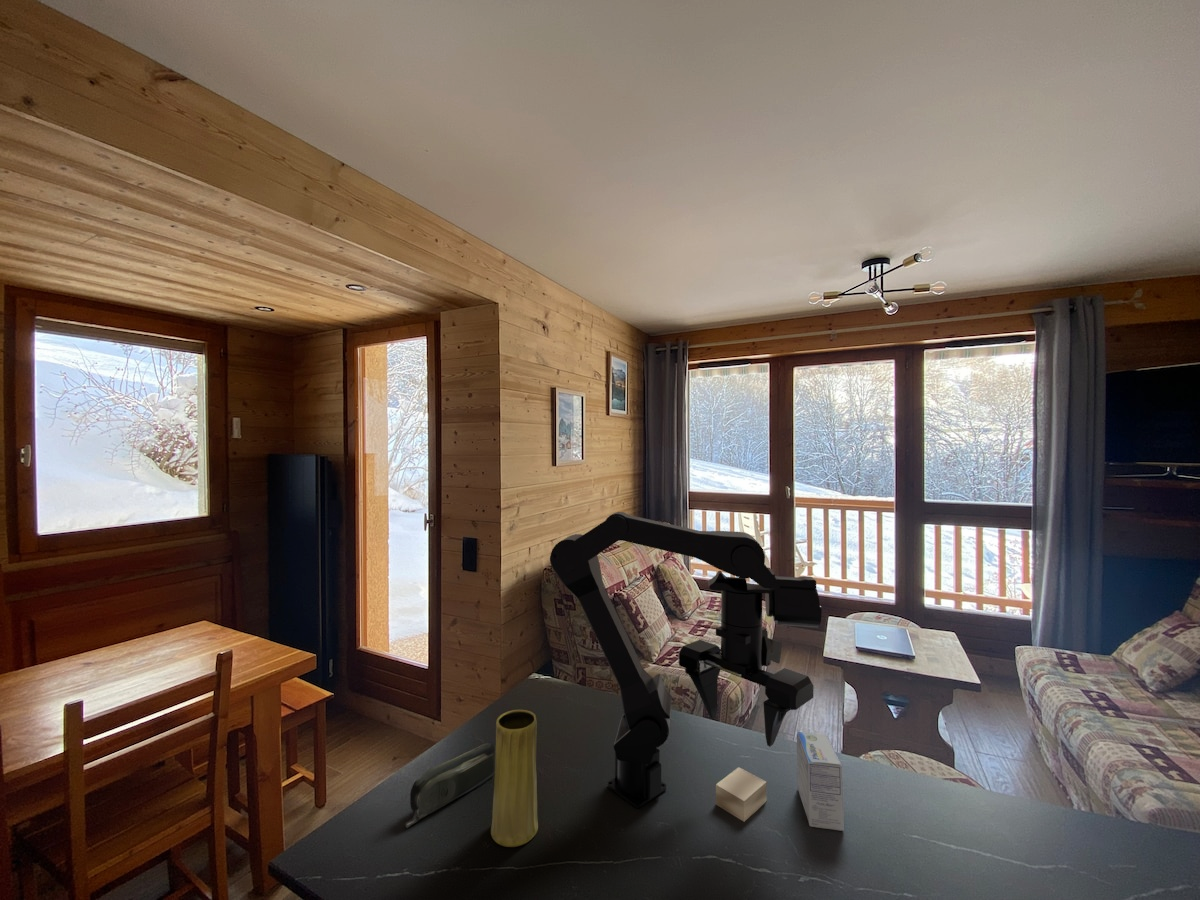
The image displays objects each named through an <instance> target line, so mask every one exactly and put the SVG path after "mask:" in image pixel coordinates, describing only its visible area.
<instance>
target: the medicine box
mask: <svg viewBox="0 0 1200 900" xmlns="http://www.w3.org/2000/svg"><path fill="white" fill-rule="evenodd" d="M796 770H797V772H796V777H797V778H796V779H797V780H796V782H797V784H796V785H797V791H798V793H799V797H800V800H801V802H802V806H803V810H804V812H805V815H806V818H807V821H808V825H809V827H811V828H817V829H825V830H830V831H831V830H832V831H839V832H843V831H844V830H845V828H844V827H845V826H844V781H843V779H844V778H843V765H842V763H841V761H840V759H839V757H838V754H837V752H836V751H835V748H834V746H833V745H832V743H831V740H830V738H829V736H828V735H827V734H823V733H819V732H818V733H817V732H807V731H806V732H805V731H797V734H796Z"/></svg>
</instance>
